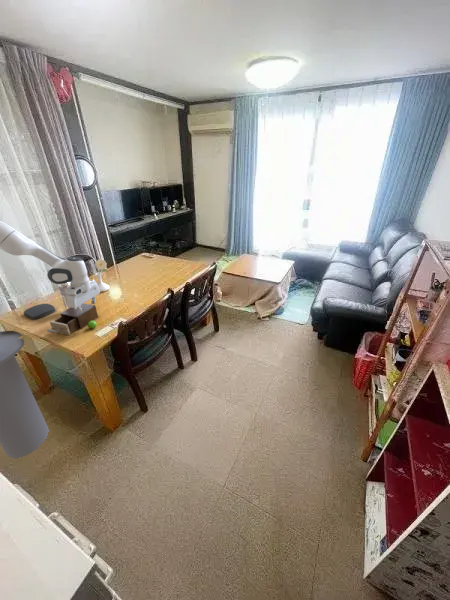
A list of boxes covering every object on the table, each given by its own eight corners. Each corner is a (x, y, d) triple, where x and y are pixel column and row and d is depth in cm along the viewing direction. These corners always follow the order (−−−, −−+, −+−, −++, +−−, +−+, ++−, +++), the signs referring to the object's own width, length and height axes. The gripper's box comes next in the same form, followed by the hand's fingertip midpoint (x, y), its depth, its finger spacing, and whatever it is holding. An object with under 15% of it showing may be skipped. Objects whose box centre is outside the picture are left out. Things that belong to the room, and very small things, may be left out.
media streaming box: (34, 321, 159) (33, 316, 158) (22, 314, 165) (20, 310, 164) (58, 310, 171) (56, 307, 169) (45, 305, 177) (44, 301, 175)
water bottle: (74, 307, 175) (64, 273, 163) (80, 310, 171) (70, 276, 160) (64, 311, 170) (53, 277, 158) (69, 315, 166) (58, 279, 155)
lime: (93, 330, 151) (91, 323, 149) (86, 329, 152) (84, 322, 150) (99, 326, 155) (97, 319, 153) (92, 325, 157) (90, 318, 154)
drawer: (61, 340, 141) (58, 330, 138) (45, 336, 144) (41, 326, 141) (86, 323, 157) (83, 313, 154) (71, 320, 159) (68, 310, 156)
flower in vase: (92, 293, 194) (84, 262, 182) (96, 287, 204) (88, 257, 192) (110, 292, 197) (104, 261, 185) (113, 286, 206) (107, 256, 195)
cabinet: (81, 329, 152) (77, 316, 148) (64, 325, 155) (60, 313, 151) (98, 317, 165) (95, 305, 161) (82, 313, 168) (78, 302, 164)
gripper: (90, 278, 150) (95, 298, 157) (62, 292, 133) (69, 315, 140) (99, 279, 149) (104, 300, 155) (72, 294, 132) (78, 317, 138)
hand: (87, 307), depth 147 cm, fingers open, 8 cm apart
